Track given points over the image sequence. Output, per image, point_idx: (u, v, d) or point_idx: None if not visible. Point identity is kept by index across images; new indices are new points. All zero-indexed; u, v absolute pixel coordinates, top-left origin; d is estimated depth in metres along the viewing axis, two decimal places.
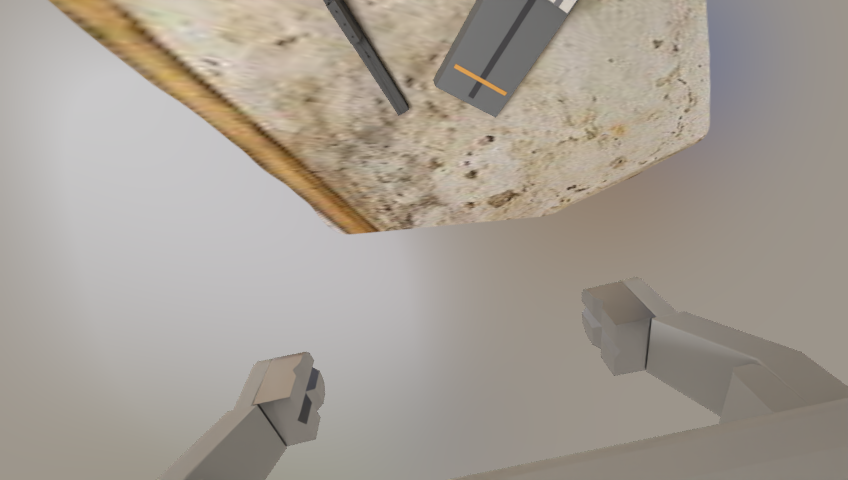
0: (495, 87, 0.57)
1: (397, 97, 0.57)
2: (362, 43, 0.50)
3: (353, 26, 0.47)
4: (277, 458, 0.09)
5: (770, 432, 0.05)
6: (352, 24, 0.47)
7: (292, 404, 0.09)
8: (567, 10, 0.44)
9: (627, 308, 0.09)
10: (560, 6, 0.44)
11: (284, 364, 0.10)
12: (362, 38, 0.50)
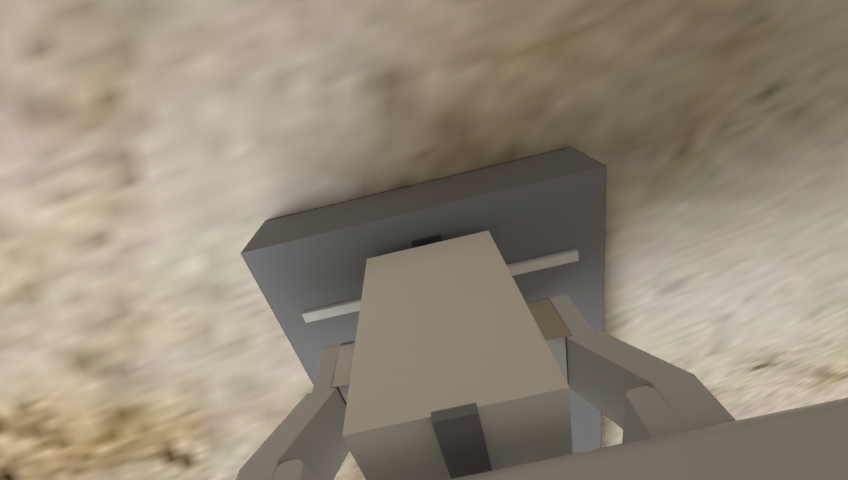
0: None
1: None
2: None
3: None
4: None
5: (770, 432, 0.05)
6: None
7: None
8: None
9: (546, 326, 0.09)
10: None
11: None
12: None
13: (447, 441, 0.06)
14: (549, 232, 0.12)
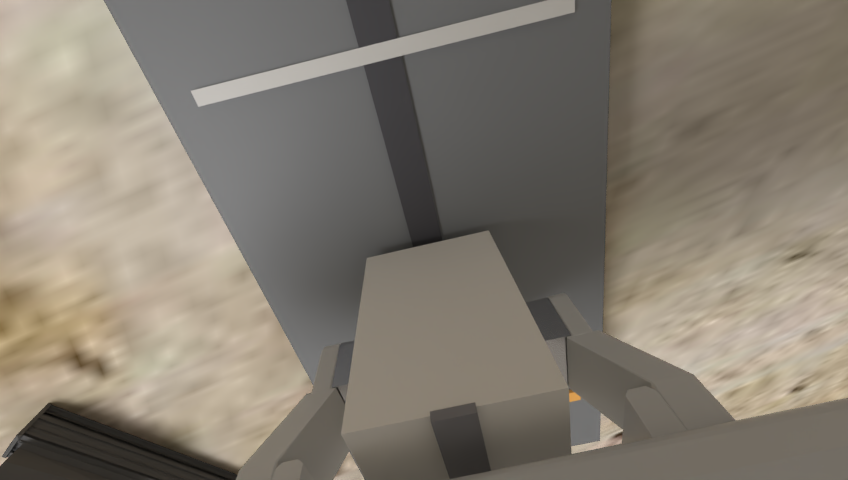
0: None
1: None
2: None
3: None
4: None
5: (770, 432, 0.05)
6: None
7: None
8: None
9: (546, 326, 0.09)
10: None
11: None
12: None
13: (446, 440, 0.06)
14: None
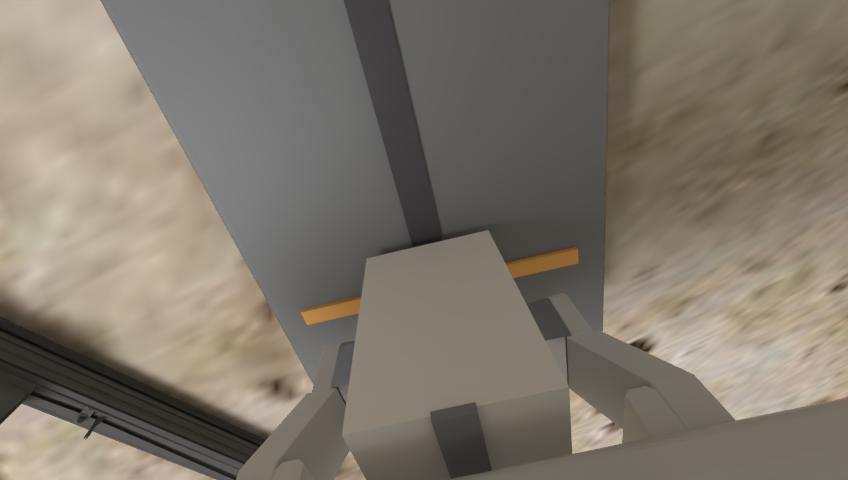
0: (515, 266, 0.13)
1: None
2: (62, 398, 0.15)
3: None
4: None
5: (770, 432, 0.05)
6: None
7: None
8: None
9: (547, 325, 0.09)
10: None
11: None
12: (50, 390, 0.15)
13: (447, 440, 0.06)
14: None
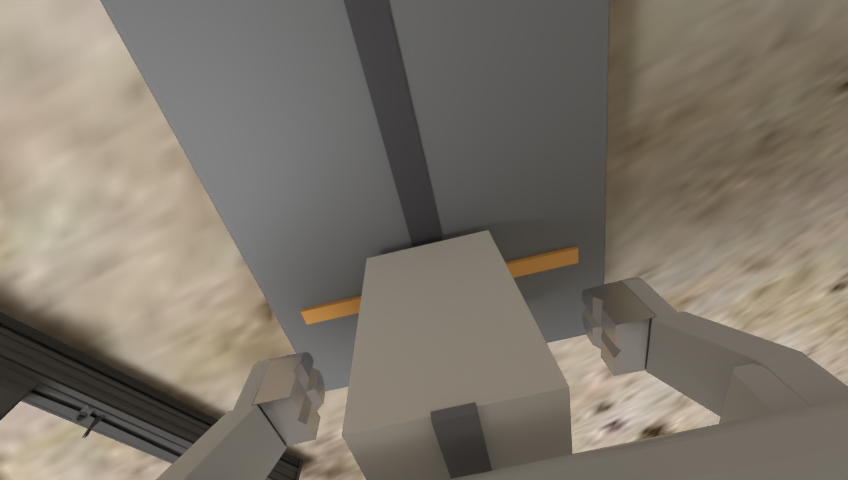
0: (515, 265, 0.13)
1: None
2: (62, 396, 0.15)
3: None
4: (277, 458, 0.09)
5: (770, 432, 0.05)
6: None
7: (292, 404, 0.09)
8: None
9: (627, 308, 0.09)
10: None
11: (284, 364, 0.10)
12: (51, 387, 0.15)
13: (447, 441, 0.06)
14: None
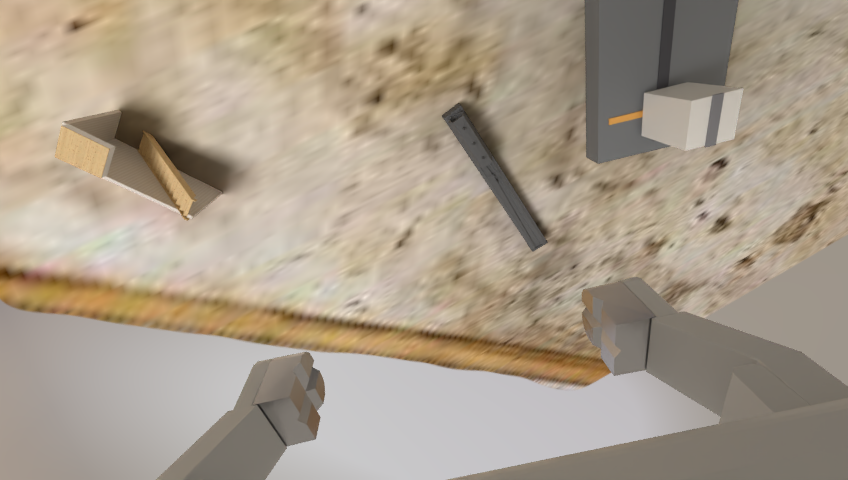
0: None
1: (532, 228, 0.41)
2: (490, 165, 0.37)
3: (483, 144, 0.34)
4: (277, 458, 0.09)
5: (770, 432, 0.05)
6: (482, 142, 0.34)
7: (292, 404, 0.09)
8: (731, 136, 0.29)
9: (627, 308, 0.09)
10: (717, 141, 0.29)
11: (284, 364, 0.10)
12: None
13: (714, 102, 0.28)
14: None
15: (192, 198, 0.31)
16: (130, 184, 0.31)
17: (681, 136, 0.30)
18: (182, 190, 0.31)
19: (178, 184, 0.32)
